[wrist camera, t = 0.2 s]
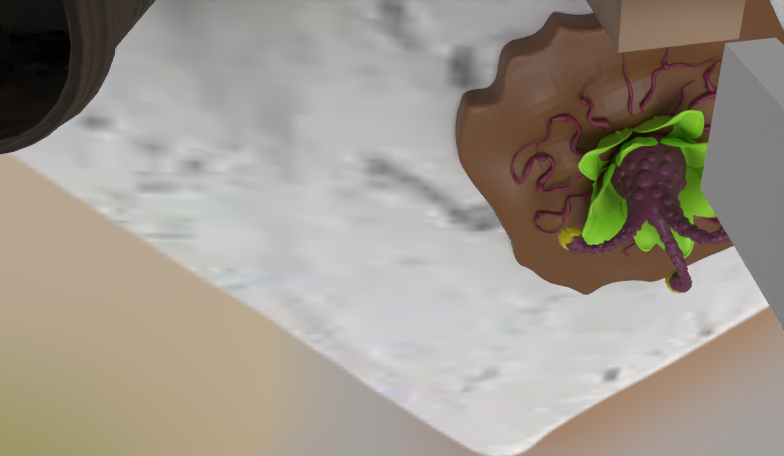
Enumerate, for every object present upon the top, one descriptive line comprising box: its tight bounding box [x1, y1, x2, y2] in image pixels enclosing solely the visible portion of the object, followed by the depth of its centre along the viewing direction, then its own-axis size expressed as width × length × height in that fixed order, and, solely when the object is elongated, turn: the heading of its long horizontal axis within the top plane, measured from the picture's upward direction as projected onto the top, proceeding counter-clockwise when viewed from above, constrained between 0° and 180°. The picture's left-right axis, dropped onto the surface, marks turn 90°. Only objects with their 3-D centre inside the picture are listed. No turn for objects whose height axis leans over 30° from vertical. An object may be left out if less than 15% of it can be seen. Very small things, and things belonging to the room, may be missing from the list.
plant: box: [456, 0, 784, 295], centre depth 40 cm, size 20×20×11 cm
